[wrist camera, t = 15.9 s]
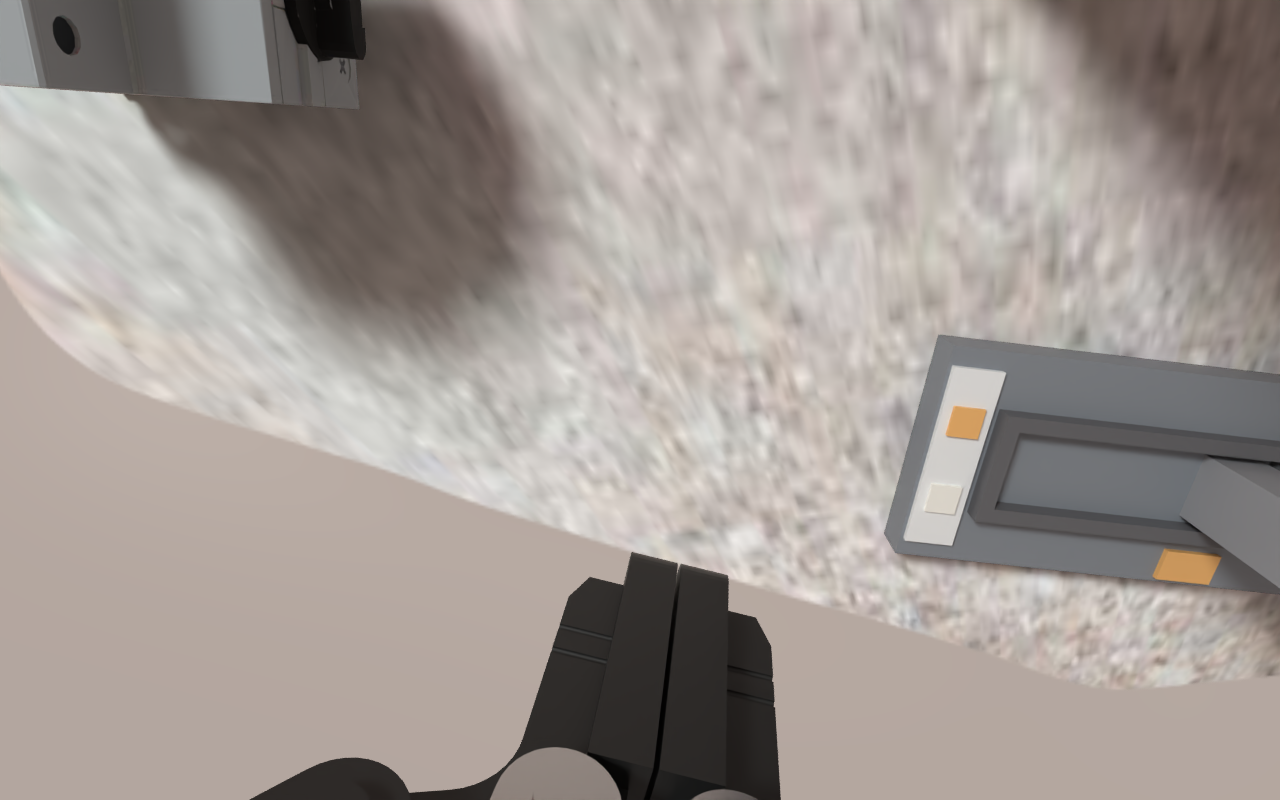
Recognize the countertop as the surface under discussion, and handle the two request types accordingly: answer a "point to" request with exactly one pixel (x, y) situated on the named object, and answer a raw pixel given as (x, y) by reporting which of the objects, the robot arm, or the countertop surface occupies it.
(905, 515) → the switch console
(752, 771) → the robot arm
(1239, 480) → the switch orange
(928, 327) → the countertop surface
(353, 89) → the circuit breaker
